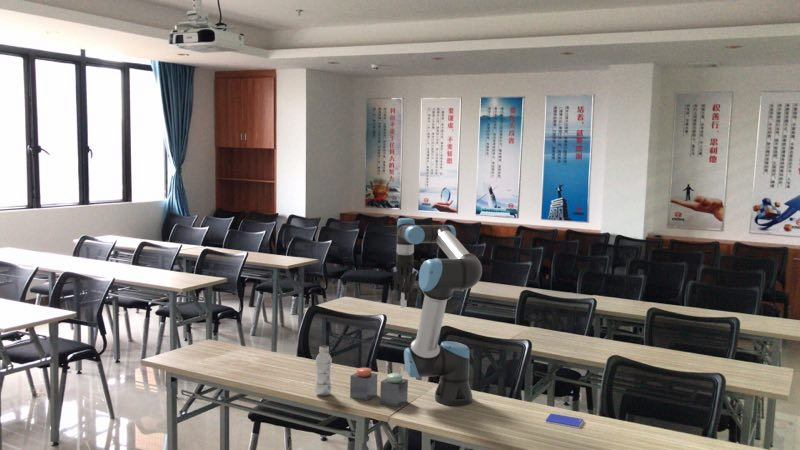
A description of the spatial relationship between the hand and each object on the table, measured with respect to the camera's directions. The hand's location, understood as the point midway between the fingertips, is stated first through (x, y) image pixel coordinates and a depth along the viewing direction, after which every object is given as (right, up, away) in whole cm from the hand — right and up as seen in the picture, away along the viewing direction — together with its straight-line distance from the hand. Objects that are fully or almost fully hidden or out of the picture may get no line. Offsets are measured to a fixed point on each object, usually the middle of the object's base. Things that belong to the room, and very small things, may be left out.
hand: (403, 307), depth 301 cm
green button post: (-4, -35, -27) cm, 44 cm away
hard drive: (+60, -39, -42) cm, 83 cm away
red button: (-16, -33, -20) cm, 42 cm away
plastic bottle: (-33, -34, -20) cm, 51 cm away
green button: (-4, -34, -27) cm, 43 cm away
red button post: (-16, -34, -20) cm, 43 cm away
